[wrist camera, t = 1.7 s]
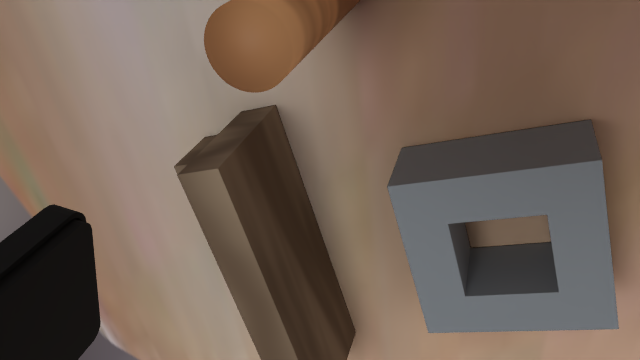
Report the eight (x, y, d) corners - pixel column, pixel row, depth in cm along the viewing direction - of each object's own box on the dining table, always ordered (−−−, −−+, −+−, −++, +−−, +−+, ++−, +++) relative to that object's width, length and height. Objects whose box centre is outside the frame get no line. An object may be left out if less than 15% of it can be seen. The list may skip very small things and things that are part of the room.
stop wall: (275, 104, 34) (217, 168, 27) (355, 332, 42) (325, 425, 35) (197, 120, 36) (126, 182, 30) (286, 333, 44) (246, 421, 37)
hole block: (590, 119, 29) (601, 160, 26) (607, 274, 33) (618, 329, 30) (401, 147, 33) (387, 186, 29) (437, 283, 37) (428, 332, 34)
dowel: (358, -63, 28) (273, -11, 18) (375, 1, 29) (303, 83, 20) (300, -46, 29) (190, 13, 19) (318, 16, 31) (224, 99, 21)
